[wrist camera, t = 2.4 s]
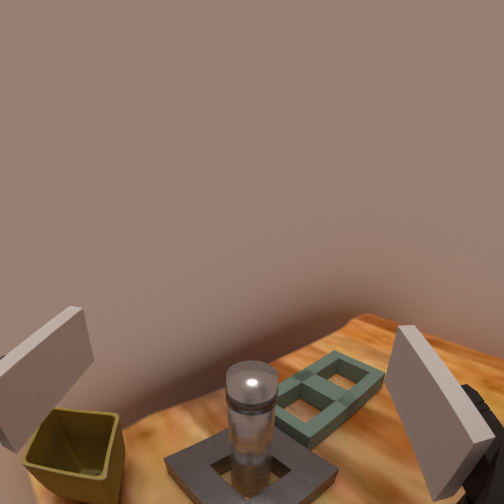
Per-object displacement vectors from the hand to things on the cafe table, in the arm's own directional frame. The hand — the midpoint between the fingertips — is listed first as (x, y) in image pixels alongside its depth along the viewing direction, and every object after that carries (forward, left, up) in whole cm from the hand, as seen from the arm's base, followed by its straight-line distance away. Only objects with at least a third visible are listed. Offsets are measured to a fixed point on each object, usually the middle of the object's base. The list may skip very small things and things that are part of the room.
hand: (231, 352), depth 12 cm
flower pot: (+15, +8, -25) cm, 30 cm away
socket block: (+7, -7, -24) cm, 26 cm away
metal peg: (+7, -7, -24) cm, 26 cm away
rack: (+11, -24, -24) cm, 36 cm away
